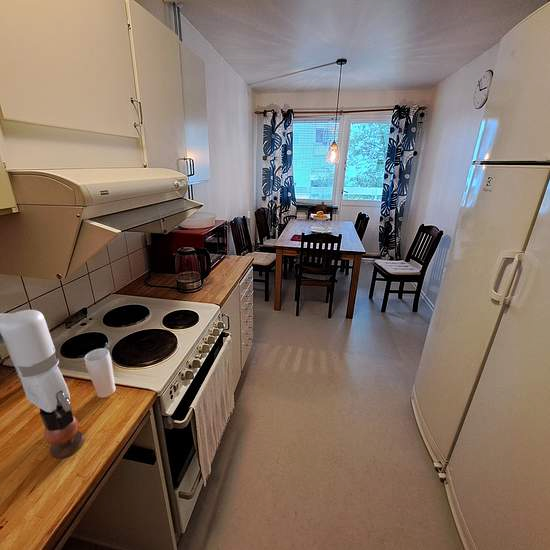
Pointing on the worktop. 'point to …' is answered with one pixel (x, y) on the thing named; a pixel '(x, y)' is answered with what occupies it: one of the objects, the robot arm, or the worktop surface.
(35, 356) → the robot arm
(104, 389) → the drinking glass
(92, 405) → the worktop surface
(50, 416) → the napkin ring
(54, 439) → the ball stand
